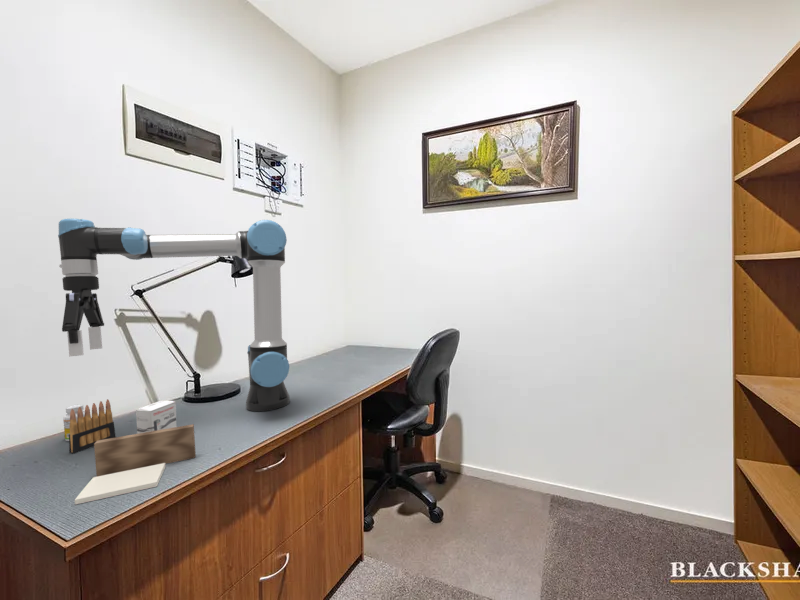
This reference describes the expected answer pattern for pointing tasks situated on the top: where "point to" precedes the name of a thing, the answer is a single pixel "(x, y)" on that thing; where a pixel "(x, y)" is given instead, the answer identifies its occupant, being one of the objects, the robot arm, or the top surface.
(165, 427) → the ink box
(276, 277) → the robot arm
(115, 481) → the pad
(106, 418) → the ammunition clip
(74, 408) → the supplement bottle
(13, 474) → the top surface
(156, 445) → the walnut screen
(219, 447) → the top surface
